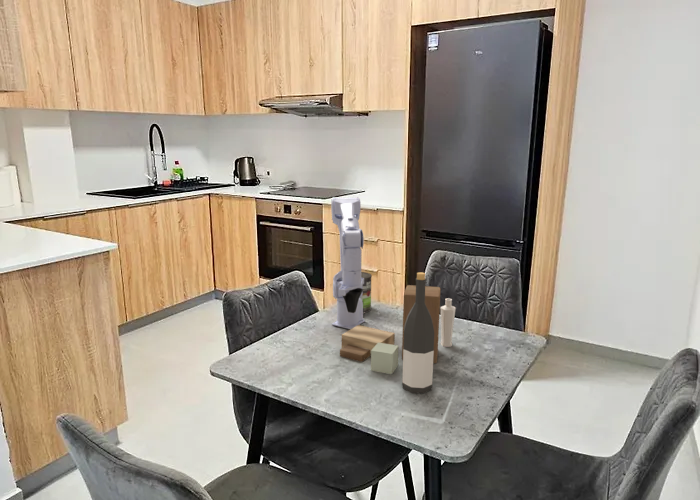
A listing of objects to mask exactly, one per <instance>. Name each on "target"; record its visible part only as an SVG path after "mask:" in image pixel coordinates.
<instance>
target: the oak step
mask: <svg viewBox="0 0 700 500" xmlns="http://www.w3.org/2000/svg"><path fill="white" fill-rule="evenodd" d="M395 335H396V333H395V332H391V331H388V330H383V329H379V328H374V327H370V326H365V325H361V324H360V325H357V326H356V327H354V328H352V329H348V330H346V331H345V332H344V333H343V334H342V333H341V349H342V348H344V347H345V346H347V345H348V344H350V345H355V346H359V347H363V348H367V349H371V350H372V349H373V348H374V347H375V346H376V344H377V343H385V344H391V345H395V341H396V340H395V339H396V337H395Z"/></svg>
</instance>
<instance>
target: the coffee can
mask: <svg viewBox="0 0 700 500" xmlns="http://www.w3.org/2000/svg"><path fill="white" fill-rule="evenodd" d="M372 276H373V275H372V273H369V272H367V271H361V277H362V278H364V284H363V295H362V297H361V300H362V302H363V314H365V313H369V312H370V311H371V310H372ZM369 310H370V311H369ZM364 312H365V313H364Z"/></svg>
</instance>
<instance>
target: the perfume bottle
mask: <svg viewBox="0 0 700 500" xmlns="http://www.w3.org/2000/svg"><path fill="white" fill-rule="evenodd" d="M452 301H453V299H452V298H450V297H448V298H445V304H444V305H442V306H440V338H441V339H440V340H441V341H440V345H441V346H442V347H446V348H451V347H452V345H453V341H452V340H453V334H454V333H453V332H454V324H455V318H456V317H455V315H456V309H457V307H455V306H454V305H452V304H453V302H452Z"/></svg>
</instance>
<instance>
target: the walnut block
mask: <svg viewBox="0 0 700 500" xmlns="http://www.w3.org/2000/svg"><path fill="white" fill-rule="evenodd" d="M339 357H342V358H346V359H350V360H353V361H357V362H360V363H362V362H364V361H366V360H367V359H368V358H371V349H367V348H363V347H359V346H355V345H350V344H348V345H347V346H345V347H344V348H342V347H341V349H339Z"/></svg>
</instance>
